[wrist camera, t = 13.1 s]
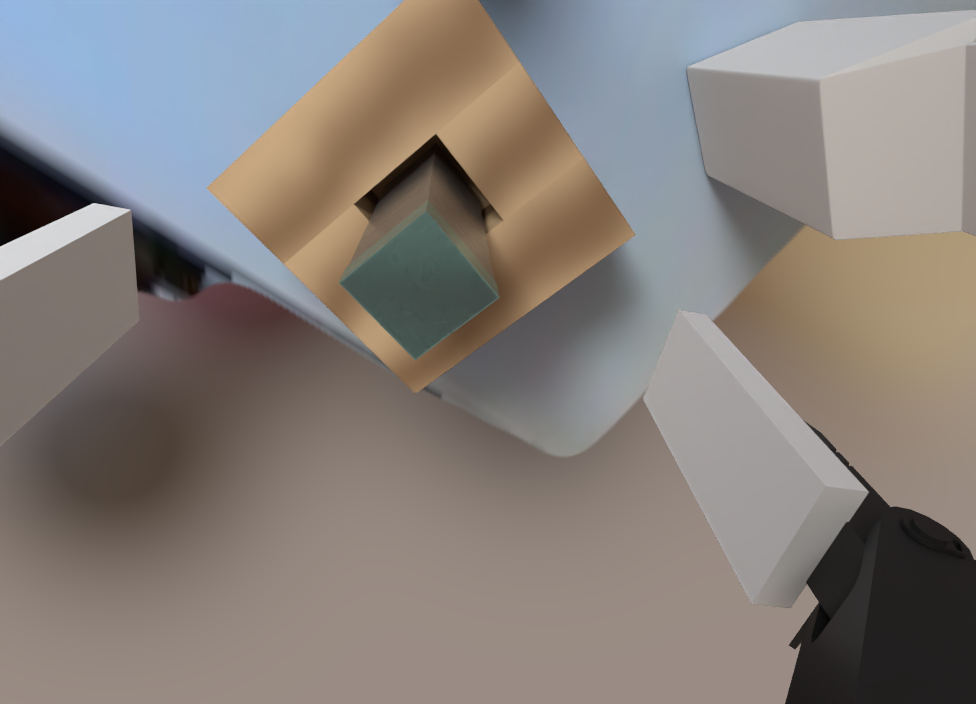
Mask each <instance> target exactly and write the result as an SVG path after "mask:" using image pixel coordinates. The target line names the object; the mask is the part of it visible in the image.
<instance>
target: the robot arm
mask: <svg viewBox="0 0 976 704" xmlns="http://www.w3.org/2000/svg"><path fill="white" fill-rule="evenodd" d="M138 321H139V311H138V298H137V284H136V270H135V257H134V243H133V230H132V216H131V210H128V209H123V208H117V207H112V206H106V205H101V204H95V203H93V204H91V205H89V206H87V207H85V208H83V209H80V210H78V211H76V212H74V213H72V214H70V215H68V216H65V217H63V218H61V219H59V220H57V221H55V222H52V223H50V224H48V225H46V226H44V227H42V228H40V229H37V230H35V231H33V232H31V233H29V234H27V235H24V236H22V237H20V238H18V239H16V240H14V241H11V242H9V243H7V244H5V245H3V246H1V247H0V446H1V445H2V444H3V443H4V442H5V441H7V440H8V439H9V438H10V437H11V436H12V435H13V434H14V433H15V432H17V431H18V430H19V429H20V428H21V427H22V426H23V425H24V424H25V423H26V422H28V420H30V419H31V418H32V417H33V416H34V415H35V414H36V413H37V412H38V411H40V410H41V409H42V408H43V407H44V406H45V405H46V404H47V403H49V402H50V401H51V400H52V399H53V398H54V397H55V396H56V395H57V394H58V393H60V392H61V391H62V390H63V389H64V388H65V387H66V386H67V385H68V384H69V383H70V382H72V381H73V380H74V379H75V378H76V377H77V376H78V375H79V374H81V373H82V372H83V371H84V370H85V369H86V368H87V367H88V366H89V365H90V364H92V363H93V362H94V361H95V360H96V359H97V358H98V357H99V356H100V355H101V354H103V352H105V351H106V350H107V349H108V348H109V347H110V346H111V345H113V344H114V343H115V342H116V341H117V340H118V339H119V338H120V337H121V336H122V335H124V334H125V333H126V332H127V331H128V330H129V329H130V328H131V327H132V326H133V325H135V324H136V323H137V322H138ZM643 400H644V402H645V404H646V406H647V408H648V409H649V411H650V413H651V415H652V417H653V419H654V421H655V423H656V425H657V427H658V428H659V430H660V432H661V434H662V436H663V438H664V440H665V442H666V443H667V445H668V447H669V449H670V451H671V453H672V455H673V457H674V459H675V460H676V462H677V464H678V466H679V468H680V470H681V472H682V474H683V476H684V477H685V479H686V481H687V483H688V485H689V487H690V488H691V491H692V493H693V495H694V496H695V498H696V500H697V502H698V504H699V506H700V508H701V510H702V512H703V513H704V515H705V517H706V519H707V521H708V523H709V525H710V527H711V529H712V530H713V532H714V534H715V536H716V538H717V540H718V542H719V544H720V545H721V547H722V549H723V551H724V553H725V555H726V557H727V559H728V560H729V563H730V564H731V566H732V568H733V570H734V572H735V574H736V576H737V578H738V579H739V581H740V583H741V585H742V587H743V589H744V591H745V592H746V595H747V597H748V598H749V600H750V602H751V604H754V605H764V606H773V607H783V608H791V607H792V605H793V604H794V602H795V600H796V599H797V598H798V596H799V594H800V593H801V592H802V590H803V589H804V588H805V586H806V585H807V584H808V586H809V587H810V589H811V590H812V592H813V594H814V595H815V597H816V598H817V600H818V601H819V603H818V605H817V606H816V607H815V609H814V610H813V612H812V613H811V614H810V616H809V617H808V619H807V620H806V622H805V623H804V624H803V626H802V627H801V629H800V630H799V632H798V633H797V634H796V636H795V637H794V639H793V640H792V641H791V643H790V644H789V646H791V647H792V648H794V649H796V648H797V647H798V646H799V644H800V643H801V647H800V651H799V654H798V658H797V662H796V665H795V669H794V673H793V677H792V680H791V684H790V688H789V691H788V695H787V699H786V703H785V704H976V560H974V559H973V556H972V554H971V552H970V550H969V549H968V548H967V546H966V545H965V544H964V543H963V542H962V541H961V540H960V539H959V538H958V537H957V536H956V535H955V534H953V533H952V532H950V531H949V530H948V529H947V528H946V527H944V526H942V525H941V524H939V523H937V522H936V521H934V520H932V519H931V518H929V517H927V516H925V515H922V514H920V513H917V512H915V511H913V510H910V509H905V508H901V507H890V506H889V505H888V504H887V503H886V502H885V501H884V500H883V499H882V498H881V497H880V495H878V493H877V492H876V491H875V490H874V489H873V488H872V487H871V486H870V485H869V484H868V483H867V482H866V481H865V479H864V478H863V477H862V476H861V475H860V474H859V473H858V472H857V471H856V470H855V469H854V468H853V467H852V466H849V462H848V461H847V460H846V459H845V458H844V457H843V456H842V455H841V454H840V453H838V452H836V448H835V447H834V446H833V445H832V444H831V443H830V442H829V441H828V440H827V439H826V438H825V437H824V436H823V435H822V433H820V432H819V431H818V430H816V429H815V428H813V427H812V426H811V425H809V424H808V423H806V422H805V421H804V420H802V419H801V418H800V416H799V415H798V414H797V413H796V412H795V411H794V410H793V409H792V408H791V407H790V406H789V405H788V403H787V402H786V401H785V400H784V399H783V398H782V397H781V396H780V395H779V394H778V393H777V391H776V390H775V389H774V388H773V387H772V386H771V385H770V384H769V383H768V382H767V380H765V378H764V377H763V376H762V375H761V374H760V373H759V372H758V371H757V370H756V369H755V367H754V366H753V365H752V364H751V363H750V362H749V361H748V360H747V359H746V358H745V357H744V355H743V354H742V353H741V352H740V351H739V350H738V349H737V348H736V347H735V346H734V345H733V343H732V342H731V341H730V340H729V339H728V338H727V337H726V336H725V335H724V334H723V333H722V331H721V330H720V329H719V328H718V327H717V326H716V325H715V324H714V323H713V322H712V321H711V320H710V318H709V317H708V316H707V315H705V314H699V313H694V312H688V311H683V310H678V312H677V315H676V317H675V320H674V322H673V325H672V327H671V330H670V332H669V335H668V337H667V340H666V342H665V345H664V347H663V350H662V352H661V355H660V357H659V360H658V362H657V365H656V367H655V370H654V372H653V375H652V377H651V380H650V382H649V385H648V387H647V390H646V392H645V395H644V397H643Z"/></svg>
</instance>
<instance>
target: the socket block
mask: <svg viewBox="0 0 976 704" xmlns="http://www.w3.org/2000/svg"><path fill="white" fill-rule="evenodd" d="M435 143H437V145H438V146H439V147H440V148H441V150H442V151H443V152H444V153H445V155H446V156H447V157H448V158H449V160H450V161H451V162H452V164H453V165H454V166H455V167H456V169H457V170H458V171H459V172H460V174H461V175H462V176H463V177H464V179H465V180H466V181H467V182H468V184H469V185H470V186H471V188H472V189H473V190H474V191H475V193H476V194H477V195H478V196H479V201H480V206H481V212H482V217H483V222H484V227H485V233H486V238H487V243H488V249H489V254H490V259H491V264H492V270H493V275H494V279H495V281H496V282H497V287H498V292H499V297H500V298H498V299H497V300H496V301H494V302H493V303H492V304H490V305H489V306H488V307H486V308H485V309H484V310H482V311H481V312H480V313H478V314H477V315H476V316H474V317H473V318H472V319H470V320H469V321H468V322H466V323H465V324H464V325H462V326H461V327H460V328H458V329H457V330H456V331H454V332H453V333H451V334H450V335H449V336H447V337H446V338H445V339H443V340H442V341H441V342H439V343H438V344H437V345H435V346H434V347H433V348H431V349H430V350H429V351H427V352H426V353H425V354H423V355H422V356H421V357H419V358H418V359H417V360H414V359H413V358H412V357H411V356H410V355H409V354H408V353H407V352H406V351H405V350H404V349H403V348H402V347H401V346H400V345H399V344H398V343H397V342H396V340H395V339H394V338H393V337H392V336H391V335H390V334H389V333H388V332H387V331H386V330H385V329H384V328H383V327H382V326H381V325H380V324H379V323H378V322H377V321H376V320H375V319H374V318H373V317H372V316H371V315H370V314H369V313H368V312H367V311H366V310H365V309H364V308H363V307H362V306H361V305H360V304H359V303H358V302H357V301H356V300H355V299H354V298H353V297H352V296H351V295H350V294H349V293H348V292H347V291H346V290H345V289H344V288H343V287H342V286H341V285H340V284H339V281H340V279H341V277H342V275H343V272H344V270H345V268H346V267H347V266H348V265H349V264H350V262H351V259H352V257H353V255H354V253H355V251H356V248H357V246H358V244H359V242H360V240H361V238H362V235H363V233H364V231H365V229H366V227H367V224H368V222H369V220H370V218H371V216H372V214H373V211H374V209H375V207H376V205H377V203H378V200H379V198H380V196H381V194H382V192H383V190H384V187H385V186H386V185H387V184H388V183H389V182H391V181H392V180H393V179H394V178H395V177H396V176H398V175H399V174H400V173H401V172H402V171H403V170H405V169H406V168H407V167H408V166H409V165H410V164H412V163H413V162H414V161H415V160H416V159H417V158H419V157H420V156H421V155H422V154H423V153H424V152H426V151H427V150H428V149H429V148H430V147H431V146H433V145H434V144H435ZM207 189H208V190H209V191H210V192H211V193H212V194H213V195H214V196H215V197H216V198H217V199H218V200H219V201H220V202H221V203H222V204H223V205H224V206H225V207H226V208H227V209H228V210H229V211H230V212H231V213H232V214H233V215H234V216H235V217H236V218H237V219H238V220H239V221H240V222H241V223H242V224H243V225H244V226H245V227H246V228H247V229H248V230H250V231H251V232H252V233H253V234H254V235H255V236H256V237H257V238H258V239H259V240H260V241H261V242H262V243H263V244H264V245H265V246H266V247H267V248H268V249H269V250H270V251H271V252H272V253H273V254H274V255H275V256H276V257H277V258H278V259H279V260H280V261H281V262H282V263H283V264H284V265H285V266H286V267H287V268H288V269H289V270H290V271H291V272H292V273H293V274H294V275H295V276H296V277H297V278H298V279H299V280H300V281H301V282H302V283H303V284H304V285H305V286H306V287H307V288H308V289H309V290H311V291H312V292H313V293H314V294H315V295H316V296H317V297H318V298H319V299H320V300H321V301H322V302H323V303H324V304H325V305H326V306H327V307H328V308H329V309H330V310H331V311H332V312H333V313H334V314H335V315H336V316H337V317H338V318H339V319H340V320H341V321H342V322H343V323H344V324H345V325H346V326H347V327H348V328H349V329H350V330H351V331H352V332H353V333H354V334H355V335H356V336H357V337H358V338H359V339H360V340H361V341H362V342H363V343H364V344H365V345H366V346H367V347H368V348H369V349H370V350H372V351H373V352H374V353H375V354H376V355H377V356H378V357H379V358H380V359H381V360H382V361H383V362H384V363H385V364H386V365H387V366H388V367H389V368H390V369H391V370H392V371H393V372H394V373H395V374H396V375H397V376H398V377H399V378H400V379H401V380H402V381H403V382H404V383H405V384H406V385H407V386H408V387H409V388H410V389H411V390H412V391H413V392H414V393H417V392H418V391H420V390H421V389H423V388H424V387H425V386H427V385H428V384H430V383H431V382H432V381H434V380H435V379H436V378H438V377H439V376H441V375H442V374H443V373H445V372H446V371H448V370H449V369H450V368H452V367H453V366H455V365H456V364H457V363H459V362H460V361H461V360H463V359H464V358H466V357H467V356H468V355H470V354H471V353H473V352H474V351H475V350H477V349H478V348H480V347H481V346H482V345H484V344H485V343H486V342H488V341H489V340H491V339H492V338H493V337H495V336H496V335H498V334H499V333H500V332H502V331H503V330H504V329H506V328H507V327H509V326H510V325H511V324H513V323H514V322H516V321H517V320H518V319H520V318H521V317H523V316H524V315H525V314H527V313H528V312H529V311H531V310H532V309H534V308H535V307H536V306H538V305H539V304H541V303H542V302H543V301H545V300H546V299H548V298H549V297H550V296H552V295H553V294H554V293H556V292H557V291H559V290H560V289H561V288H563V287H564V286H566V285H567V284H568V283H570V282H571V281H572V280H574V279H575V278H577V277H578V276H579V275H581V274H582V273H584V272H585V271H586V270H588V269H589V268H591V267H592V266H593V265H595V264H596V263H597V262H599V261H600V260H602V259H603V258H604V257H606V256H607V255H609V254H610V253H611V252H613V251H614V250H616V249H617V248H618V247H620V246H621V245H622V244H624V243H625V242H627V241H628V240H629V239H631V238H632V237H634V236H635V233H634V232H633V230H632V229H631V227H630V226H629V224H628V223H627V221H626V220H625V218H624V217H623V215H622V214H621V212H620V211H619V209H618V208H617V206H616V205H615V203H614V202H613V200H612V199H611V197H610V196H609V194H608V193H607V191H606V190H605V188H604V187H603V185H602V184H601V182H600V181H599V179H598V178H597V176H596V175H595V173H594V172H593V170H592V169H591V167H590V166H589V164H588V163H587V161H586V160H585V158H584V157H583V155H582V154H581V153H580V151H579V150H578V148H577V147H576V145H575V144H574V142H573V141H572V139H571V138H570V136H569V135H568V133H567V132H566V130H565V129H564V127H563V126H562V124H561V123H560V121H559V120H558V118H557V117H556V115H555V114H554V112H553V111H552V109H551V108H550V106H549V105H548V103H547V102H546V100H545V99H544V97H543V96H542V94H541V93H540V91H539V90H538V88H537V87H536V85H535V84H534V82H533V81H532V79H531V78H530V76H529V75H528V73H527V72H526V70H525V69H524V67H523V66H522V64H521V63H520V61H519V60H518V58H517V57H516V55H515V54H514V52H513V51H512V49H511V48H510V46H509V45H508V43H507V42H506V40H505V39H504V37H503V36H502V34H501V33H500V31H499V30H498V28H497V27H496V26H495V24H494V23H493V21H492V20H491V18H490V17H489V15H488V14H487V12H486V11H485V9H484V8H483V6H482V5H481V3H480V2H479V0H404V1H403V2H402V3H401V4H400V5H399V6H398V7H397V8H396V9H395V10H394V11H393V12H392V13H391V14H390V15H388V16H387V17H386V18H385V19H384V20H383V21H382V22H381V23H380V24H379V25H378V26H377V27H376V28H375V29H374V30H373V31H372V32H371V33H369V34H368V35H367V36H366V37H365V38H364V39H363V40H362V41H361V42H360V43H359V44H358V45H357V46H356V47H355V48H354V49H353V50H352V51H350V52H349V53H348V54H347V55H346V56H345V57H344V58H343V59H342V60H341V61H340V62H339V63H338V64H337V65H336V66H335V67H334V68H333V69H332V70H330V71H329V72H328V73H327V74H326V75H325V76H324V77H323V78H322V79H321V80H320V81H319V82H318V83H317V84H316V85H315V86H314V87H313V88H311V89H310V90H309V91H308V92H307V93H306V94H305V95H304V96H303V97H302V98H301V99H300V100H299V101H298V102H297V103H296V104H295V105H294V106H292V107H291V108H290V109H289V110H288V111H287V112H286V113H285V114H284V115H283V116H282V117H281V118H280V119H279V120H278V121H277V122H276V123H275V124H273V125H272V126H271V127H270V128H269V129H268V130H267V131H266V132H265V133H264V134H263V135H262V136H261V137H260V138H259V139H258V140H257V141H256V142H254V143H253V144H252V145H251V146H250V147H249V148H248V149H247V150H246V151H245V152H244V153H243V154H242V155H241V156H240V157H239V158H238V159H237V160H235V161H234V162H233V163H232V164H231V165H230V166H229V167H228V168H227V169H226V170H225V171H224V172H223V173H222V174H221V175H220V176H219V177H218V178H217V179H215V180H214V181H213V182H212V183H211V184H210V185H209V186H208V187H207Z"/></svg>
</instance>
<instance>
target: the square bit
mask: <svg viewBox="0 0 976 704" xmlns="http://www.w3.org/2000/svg"><path fill="white" fill-rule="evenodd" d="M339 284H340V285H341V286H342V287H343V288H344V289H345V290H346V291H347V292H348V293H349V294H350V295H351V296H352V297H353V298H354V299H355V300H356V301H357V302H358V303H359V304H360V305H361V306H362V307H363V308H364V309H365V310H366V311H367V312H368V313H369V314H370V315H371V316H372V317H373V318H374V319H375V320H376V321H377V322H378V323H379V324H380V325H381V326H382V327H383V328H384V329H385V330H386V331H387V332H388V333H389V334H390V335H391V336H392V337H393V338H394V339H395V340H396V342H397V343H398V344H399V345H400V346H401V347H402V348H403V349H404V350H405V351H406V352H407V353H408V354H409V355H410V356H411V357H412V358H413V359H414V360H417V359H418V358H419V357H421V356H422V355H423V354H425V353H426V352H427V351H429V350H430V349H431V348H433V347H434V346H435V345H437V344H438V343H439V342H441V341H442V340H443V339H445V338H446V337H447V336H449V335H450V334H451V333H453V332H454V331H456V330H457V329H458V328H460V327H461V326H462V325H464V324H465V323H466V322H468V321H469V320H470V319H472V318H473V317H474V316H476V315H477V314H478V313H480V312H481V311H482V310H484V309H485V308H486V307H488V306H489V305H490V304H492V303H493V302H494V301H496V300H497V299H498V298H500V297H499V292H498V287H497V282H496V281H495V279H494V275H493V270H492V264H491V259H490V254H489V249H488V243H487V238H486V233H485V227H484V222H483V217H482V212H481V206H480V201H479V196H478V195H477V194H476V193H475V191H474V190H473V189H472V188H471V186H470V185H469V184H468V182H467V181H466V180H465V179H464V177H463V176H462V175H461V174H460V172H459V171H458V170H457V169H456V167H455V166H454V165H453V164H452V162H451V161H450V160H449V158H448V157H447V156H446V155H445V153H444V152H443V151H442V150H441V148H440V147H439V146H438V145H437V143H435V144H434V145H433V146H431V147H430V148H429V149H428V150H427V151H426V152H424V153H423V154H422V155H421V156H420V157H419V158H417V159H416V160H415V161H414V162H413V163H412V164H410V165H409V166H408V167H407V168H406V169H405V170H403V171H402V172H401V173H400V174H399V175H398V176H396V177H395V178H394V179H393V180H392V181H391V182H389V183H388V184H387V185H386V186H385V187H384V190H383V192H382V194H381V196H380V198H379V200H378V203H377V205H376V207H375V209H374V211H373V214H372V216H371V218H370V220H369V222H368V224H367V227H366V229H365V231H364V233H363V235H362V238H361V240H360V242H359V244H358V246H357V248H356V251H355V253H354V255H353V257H352V259H351V262H350V264H349V265H348V266H347V267H346V268H345V270H344V272H343V275H342V277H341V279H340V281H339Z"/></svg>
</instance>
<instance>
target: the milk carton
mask: <svg viewBox="0 0 976 704" xmlns="http://www.w3.org/2000/svg"><path fill="white" fill-rule="evenodd" d="M687 76H688V82H689V87H690V93H691V98H692V103H693V108H694V114H695V119H696V124H697V130H698V135H699V140H700V146H701V151H702V156H703V161H704V166H705V171H706V174H707V175H709V176H710V177H712V178H714V179H716V180H718V181H720V182H722V183H724V184H726V185H728V186H730V187H732V188H734V189H736V190H738V191H740V192H742V193H744V194H746V195H748V196H750V197H752V198H754V199H756V200H758V201H760V202H762V203H764V204H766V205H768V206H770V207H772V208H774V209H776V210H778V211H780V212H782V213H784V214H786V215H788V216H790V217H792V218H794V219H796V220H798V221H800V222H802V223H803V224H805V225H807V226H809V227H811V228H813V229H816V230H817V231H819V232H821V233H823V234H825V235H827V236H829V237H831V238H833V239H834V240H842V239H857V238H871V237H886V236H899V235H900V236H901V235H915V234H930V233H944V232H958V231H963V232H966V233H969V234H972V235H974V236H976V10H963V11H948V12H933V13H919V14H904V15H889V16H874V17H859V18H844V19H829V20H814V21H800V22H796V23H794V24H791V25H789V26H786V27H784V28H781V29H779V30H776V31H774V32H771V33H769V34H767V35H764V36H762V37H759V38H757V39H754V40H752V41H749V42H747V43H744V44H742V45H739V46H737V47H735V48H732V49H730V50H727V51H725V52H722V53H720V54H717V55H715V56H712V57H710V58H707V59H705V60H702V61H700V62H698V63H695V64H693V65H690V66H688V67H687Z"/></svg>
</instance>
